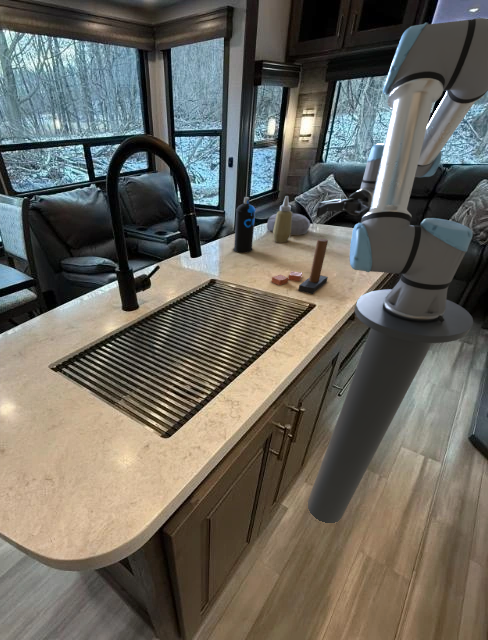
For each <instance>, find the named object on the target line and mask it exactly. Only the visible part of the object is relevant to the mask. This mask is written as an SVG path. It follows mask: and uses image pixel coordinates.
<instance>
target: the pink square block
mask: <svg viewBox="0 0 488 640" xmlns="http://www.w3.org/2000/svg"><path fill="white" fill-rule="evenodd" d="M302 276H303V272H301V271H294V270H293V271H290V272H289V274H288V277H287V278H288V281H292V282H301V279H302Z"/></svg>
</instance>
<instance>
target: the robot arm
mask: <svg viewBox="0 0 488 640" xmlns="http://www.w3.org/2000/svg"><path fill="white" fill-rule="evenodd" d="M445 91H446V92H445ZM443 92H445V94H444V96H443V98H442V99H441V101H440V103H439V105H438V106H437V108H436V110H435V111H434V113H433V115H432V117H431V118H430V116H431V113H432V108H433V105H434V104H435V103H436V102H437V101H438V100H439V99H440V98H441V97H442V95H443ZM487 92H488V18H485V17H475V18H472V19H471V18H470V19H462V20H453V21H446V22H445V21H444V22H438V23H437V22H436V23H429V22H424V23H423V24H416V25H411V26H409V27H408V28H406V29H405V30H404V32H403V33H402V35H401V37H400V40H399V43H398V45H397V47H396V50H395V53H394V56H393V58H392V62H391V64H390V68H389V71H388V73H387V76H386V80H385V81H384V85H383V90H382V94H385V96H388V97H387V100H386V101H387V102H386V103H387V106H388V107H389V108H390V109H391V112H390V117H389V121H388V125H387V126H388V127H387V131H386V136H385V139H384V143H382V142H381V143H375V144H373V145H372V146H371V148H370V152H369V155H368V158H367V160H366V165H365V169H364V173H363V176H362V177H363V178H362V180H361V184H360V188H359V189H358V190H356V191H355V192H353V193H351V194H350V195H349V196H348V197H347V199H346V198H345V199H341V198H335V199H330V200H323V201H318V203H317V208H316V215H315V217H316V218H319V217H320V216H323V215H325V214H326V213H327V212H336V211H339V212H342V213H343V212H347V213H348V214H349V215H352V216H358V220H357V222H358V223H356V224H355V225H354V227H353V229H352V232H351V233H352V234H351V239H350V245H349V265H350V267H351V268H352V269H353V270H354V271H361V272H366V273H370V272H372V273H373V272H374V273H386V274H398V275H399V274H400V275H401V276H400V278H399V281H398V282H397V283H396V284H395V285H394V286H393V288H392V289H393V290H392V291H391V292H390V293H389V295H388V296H387V297H386V298H385V301H384V303H383V309H384V310H385V311H386V312H387V313H389V314H390V315H392V316H394V317H396V318H399V319H402V320H406V321H411V322H420V323H427V322H434V321H437V320H439V321H440V322H443V321H445V320H444V319H443V318H442V316H443V314H444V312H445V307H446V299H447V297H448V296H447V295H448V288H449V286H450V285H451V283H452V281H453V279H454V276H455V275H456V272H457V270H458V268H459V266H460V264H461V262H462V261H463V258H464V257H465V254H466V253H467V252H468V250H469V249H468V248H469V246H470V243H471V242H472V239H473V236H474V234H473V233H474V232H473V230H472V229H471V228H470V227H468V226H467V225H465V224H462V223H460V222H457V221H453V220H448V219H443V218H436V217H426V218H424V219H423V220H422V221H421V222H420V224H419V225H412V224H411V222H412V218H413V217H412V214H411V213H410V212H409V210H408V207H409V201H410V197H411V194H412V189H413V185H414V181H415V178H419V179H421V178H429V177H432V176H434V175H435V174H436V172H437V171H438V168H439V166H440V163H441V160H442V157H443V152H442V150H443V148H444V147H445V146H446V144H447V143H448V141H449V140H450V139H451V137H452V135H453V134H454V133H455V131H456V130H457V128H458V127H459V126H460V124H461V122H462V121H463V120H464V118H465V117H466V116H467V114H468V113H469V111H470V110H471V109H472V107H473V106H474V104H475V102H477V101H479V100H480V99H482V98H483V97H484V96H485V95H486V94H487ZM429 119H430V120H429Z"/></svg>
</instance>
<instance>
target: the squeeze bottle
mask: <svg viewBox="0 0 488 640" xmlns="http://www.w3.org/2000/svg"><path fill="white" fill-rule="evenodd" d="M289 201H290V200H289V195H285V196H284V199H283V203H282V204H281V205H279V210H278V211H277V212H276V214H277V215H276V220H275V225H274V230H273V232H272V235H273V241H274V242H275V243H279V244H280V243H281V244H282V243H287V242H288V240H289V238H290V237H291V235H290V234H291V224H292V213H293V211H291V208H292V206H291V205H290V204H289Z"/></svg>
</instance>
